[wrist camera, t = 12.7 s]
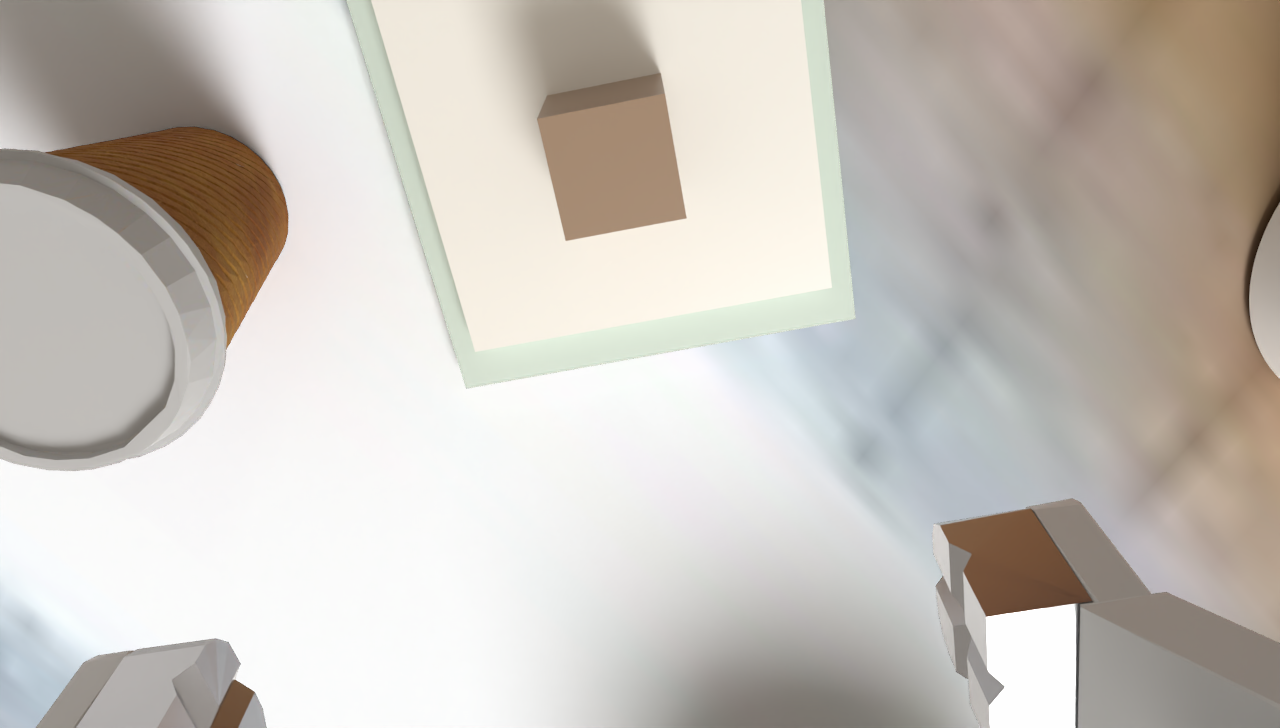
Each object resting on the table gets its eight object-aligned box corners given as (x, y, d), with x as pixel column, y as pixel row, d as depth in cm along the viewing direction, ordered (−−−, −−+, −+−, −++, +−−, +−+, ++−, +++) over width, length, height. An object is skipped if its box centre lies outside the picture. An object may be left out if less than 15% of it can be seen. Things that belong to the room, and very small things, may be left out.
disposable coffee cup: (113, 32, 33) (-134, 92, 22) (367, 157, 35) (252, 266, 24) (52, 258, 37) (-187, 403, 26) (285, 359, 39) (154, 532, 28)
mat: (798, -194, 30) (803, -197, 30) (850, 309, 38) (855, 318, 37) (327, -90, 32) (318, -90, 31) (469, 377, 39) (466, 388, 38)
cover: (783, -118, 31) (810, -123, 26) (826, 278, 37) (855, 330, 32) (370, -31, 32) (327, -21, 27) (478, 341, 38) (458, 400, 33)
